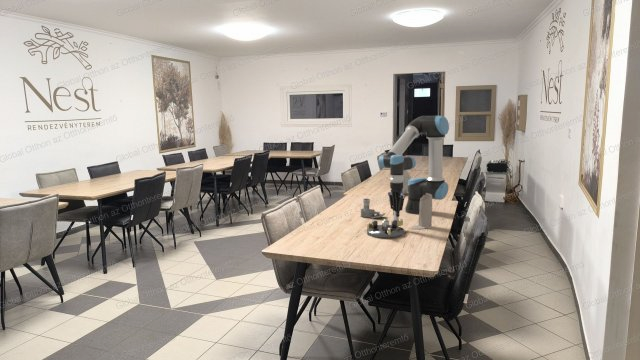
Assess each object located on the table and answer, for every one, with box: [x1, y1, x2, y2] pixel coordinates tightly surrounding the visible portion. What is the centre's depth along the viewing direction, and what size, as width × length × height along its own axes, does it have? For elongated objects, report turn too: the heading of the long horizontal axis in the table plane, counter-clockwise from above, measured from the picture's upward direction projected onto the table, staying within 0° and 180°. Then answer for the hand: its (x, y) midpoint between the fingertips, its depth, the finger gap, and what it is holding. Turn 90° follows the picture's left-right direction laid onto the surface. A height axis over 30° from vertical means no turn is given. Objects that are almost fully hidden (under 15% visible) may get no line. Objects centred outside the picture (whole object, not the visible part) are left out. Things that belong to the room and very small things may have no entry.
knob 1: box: [366, 220, 379, 230], centre depth 239 cm, size 8×3×4 cm, turn 133°
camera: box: [360, 198, 386, 219], centre depth 273 cm, size 9×12×15 cm
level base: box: [366, 218, 405, 240], centre depth 238 cm, size 21×21×8 cm
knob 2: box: [385, 224, 391, 235], centre depth 229 cm, size 8×3×4 cm, turn 1°
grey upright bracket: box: [409, 193, 433, 230], centre depth 247 cm, size 7×14×20 cm, turn 112°
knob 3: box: [391, 218, 404, 228], centre depth 242 cm, size 8×3×4 cm, turn 121°
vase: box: [402, 170, 412, 195], centre depth 345 cm, size 16×16×22 cm
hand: (396, 221), depth 245 cm, fingers closed
